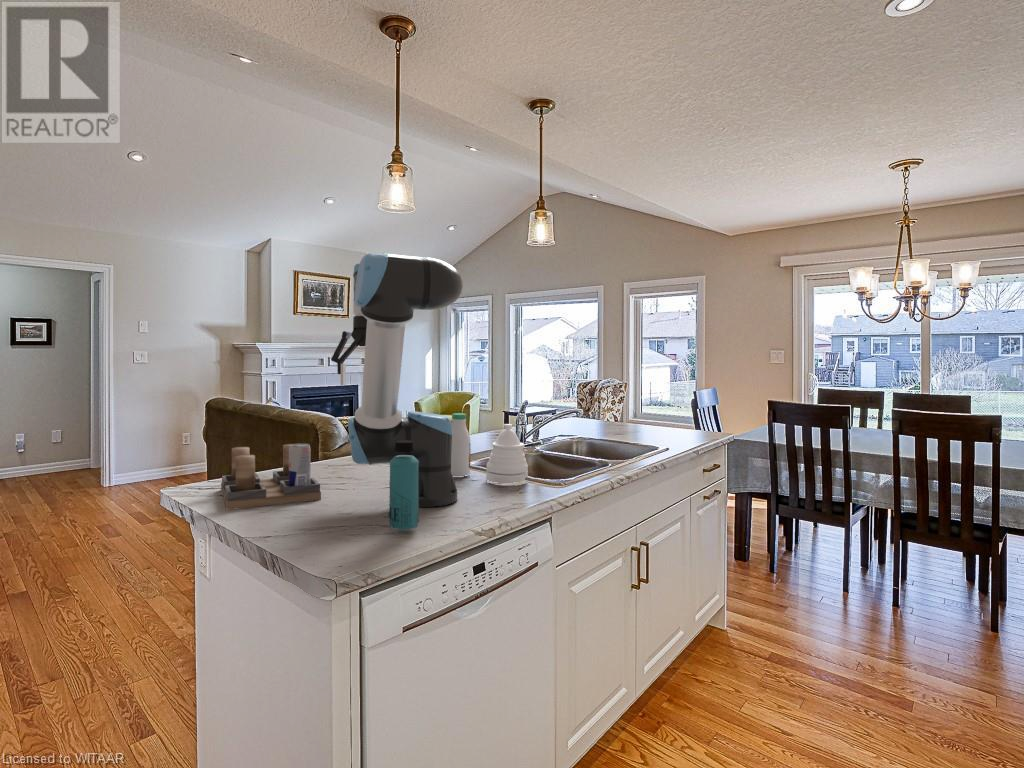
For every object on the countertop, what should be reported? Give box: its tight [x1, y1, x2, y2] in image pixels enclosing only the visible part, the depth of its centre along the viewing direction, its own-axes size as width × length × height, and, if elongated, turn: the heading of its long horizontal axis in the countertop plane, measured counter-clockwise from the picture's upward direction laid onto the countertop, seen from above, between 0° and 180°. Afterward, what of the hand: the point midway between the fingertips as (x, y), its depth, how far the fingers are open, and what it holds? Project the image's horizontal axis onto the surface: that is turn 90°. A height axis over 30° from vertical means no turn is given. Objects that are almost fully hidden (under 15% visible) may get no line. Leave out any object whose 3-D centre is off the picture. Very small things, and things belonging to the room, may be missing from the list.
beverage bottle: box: [388, 440, 420, 530], centre depth 119 cm, size 6×7×20 cm
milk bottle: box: [451, 412, 472, 476], centre depth 176 cm, size 8×8×20 cm
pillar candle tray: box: [220, 443, 322, 510], centre depth 148 cm, size 22×22×12 cm
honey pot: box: [485, 423, 529, 483], centre depth 170 cm, size 13×13×18 cm
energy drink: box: [289, 443, 312, 487], centre depth 145 cm, size 5×5×12 cm
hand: (365, 385), depth 168 cm, fingers open, 13 cm apart
